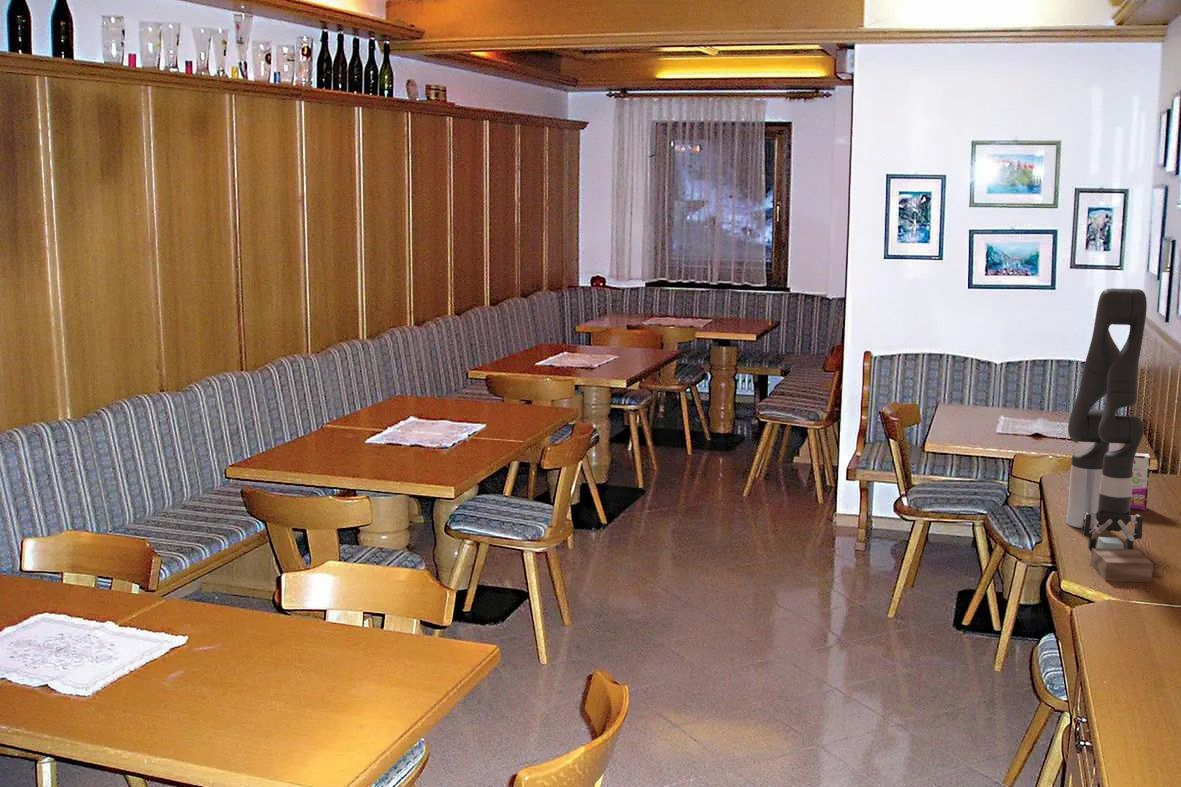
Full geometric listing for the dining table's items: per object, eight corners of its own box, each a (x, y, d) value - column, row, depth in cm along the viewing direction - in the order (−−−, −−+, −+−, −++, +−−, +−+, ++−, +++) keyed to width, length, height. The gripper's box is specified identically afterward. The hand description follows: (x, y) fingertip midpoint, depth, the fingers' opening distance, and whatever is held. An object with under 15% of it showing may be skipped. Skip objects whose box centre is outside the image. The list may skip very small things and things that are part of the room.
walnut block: (1090, 567, 305) (1091, 548, 304) (1134, 568, 304) (1136, 549, 303) (1104, 581, 294) (1106, 562, 293) (1151, 583, 294) (1153, 563, 293)
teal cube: (1096, 555, 314) (1098, 536, 313) (1116, 556, 313) (1118, 537, 312) (1101, 561, 309) (1103, 542, 308) (1122, 562, 308) (1123, 543, 307)
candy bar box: (1145, 506, 358) (1150, 453, 355) (1146, 511, 354) (1151, 457, 350) (1104, 502, 362) (1109, 449, 359) (1105, 507, 358) (1109, 453, 355)
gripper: (1140, 489, 310) (1134, 550, 313) (1082, 487, 312) (1077, 547, 315) (1149, 497, 303) (1143, 559, 306) (1090, 494, 305) (1084, 556, 308)
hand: (1109, 552), depth 310 cm, fingers open, 8 cm apart
